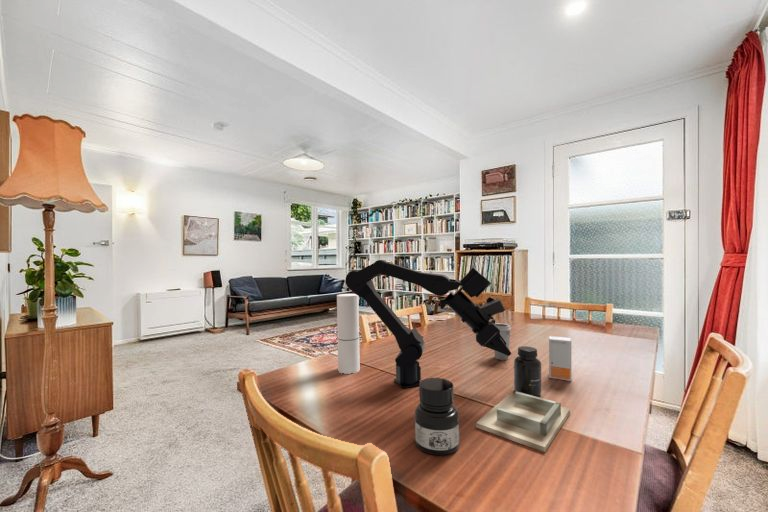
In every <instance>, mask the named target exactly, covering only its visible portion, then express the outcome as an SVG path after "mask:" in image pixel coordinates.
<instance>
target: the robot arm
mask: <svg viewBox="0 0 768 512" xmlns="http://www.w3.org/2000/svg"><path fill="white" fill-rule="evenodd" d="M380 275H385V276H388V277H392V278H394V279H397V280H401V281H403V282H404V281H405V282H407V283H411V284H413V285H414V284H415V285H417V286H419V287H420V288H422V289H424V290H425V291H427V292H429V293H431V294H433V295H435V296H438V297H444V296H445V297H444V298H440V299H439V302H440V309H441V310H443V309H444V308H445V307H446V306H447V307H448V308H450V309H451V310H452V311H453V313H455V314H456V316H458V317H459V318H460V320H461V323H464V324H465V325H467V326H468V327H469V328H470V329H471V331H472V333H473V334H475V342H477V344H478V345H480V346H481V347H484V348H488V349H490V350H493V351H494V350H495V351H498V352H500V353H502V354H505V355H507V356H508V357H509V356H511V355H512V352H511V350H510V348H509V349H508V348H507V346H506V344H507V343H506V342H505V340H504V339H503V338H502V336H501V335H500V330H499V328H498V327H497V326H496V325H495V323H496V320H495V318H494V317H493V316H494V315H498V314H500V313H503V312H506V308H505V307H504V305H503V303H502V301H501V299H500V298H493V297H492V296H488V297H487V298H486V299H485V300H486V301H485V303H483V304H482V305H479V304H478V303H475V302H474V301H472V300H471V299H470V298H469V297H471V298H475V297H476V298H479V297H480V295H482V294H483V293H484V292H485V291H486V290H487V289H488V288H489V287H490V286H491V285H492V282H491V281H489V280H488V279H487V278H486V277H485V276H484V275H483V274H481V273H480V272H479V271H478V270H477V269H476V268H475V267H471V268H470V270H469V271H468V272H467V274H465V275H464V276H463V277H462V278H461V279H453V278H449V276H447V275H445V274H442V273H441V274H440V273H432V272H422V271H419V270H415V269H411V268H410V267H409V268H408V267H405V266H403V265H399V264H395V263H392V262H389V261H386V260H385V259H378V260H376V261H374V262H373V263H371V264H370V265H367V266H365V267H363V268H360V269H357V270H356V269H355V270H352V271H350V272H348V273H347V274H346V277H345V280H344V282H345V285H346V287H347V288H348V289H349V290H350V291H351V292H353V294H356V295H358V296H359V297H360V298H361V299H363V300H364V301H365V302H366V303H367V305H368V306H369V307H370V308H371V309H372V311H373V312H374V313H375V315H376V316H378V318H379V319H380V320H381V322H382V323H383V324H384V326H385V327H386V328H387V329H388V330H389V331H390V332H391V334H392V336H393V337H394V338H395V340H396V342H397V343H396V344H397V346H398V347H399V350H400V351H399V352H398V354H397V355H396V357H395V376H396V377H395V378H394V379H393V381H394V382H395V383H396V384H397V385H398V386H399V387H400V388H401V389H407V388H412V387H417V386H419V382H421V380H422V377H421V376H422V371H421V370H422V368H421V366H420V362H419V361H418V360H420V359H421V357H422V356H423V352H424V350H425V347H426V345H425V344H426V343H425V341H424V336H423V335H421V334H420V332H419V331H418V329H417V328H416V327H413V328H412V329H410V328H409V327H407V326H406V325H405V324H404V323H403V322H402V320H401V319H400V318H399V317H398V316H397V314H396V313H395V312H394V311H393V309H391V307H390V306H389V304H387V302H386V301H385V300H384V298H383V297H381V295H380V294H379V293H378V291H377V289H376V287H375V285H374V282H373V279H375V278H377V277H378V276H380ZM459 287H460V288H459ZM450 291H451V292H450ZM452 291H455V292H454V293H453V292H452ZM463 291H464V292H465V293H466V294H465V293H464V292H463ZM449 292H450V293H449ZM467 295H468V296H467Z"/></svg>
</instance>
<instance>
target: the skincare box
mask: <svg viewBox="0 0 768 512" xmlns="http://www.w3.org/2000/svg"><path fill="white" fill-rule="evenodd" d="M548 375H549V376H548V378H549V379H555V380H562V381H567V382H572V338H571V337H564V336H551V335H549V336H548Z"/></svg>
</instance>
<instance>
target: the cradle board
mask: <svg viewBox="0 0 768 512" xmlns="http://www.w3.org/2000/svg"><path fill="white" fill-rule="evenodd" d="M561 405H562V404H561V402H559V401H555V400H550V399H547V398H543V397H539V396H537V397H536V396H532V395H528V394H524V393H520V392H517V391H516V392H514V393H512V392H510V393H509V394H507V395H506V396H505V397H503V399H502V400H501V401H499V402H498V403H497V404H496V405H495V406H493V408H491V409H490V410H489V411H488V412H487V413H486V414H484V415H483V416H482V417H481V418H480V419H479V420H478V421H476V422H475V428H477V429H479V430H483V431H485V432H488V433H490V434H493V435H496V436H498V437H502V438H504V439H507V440H510V441H513V442H514V443H518V444H521V445H524V446H526V447H529V448H532V449H534V450H537V451H539V452H542V453H546V451H547V450H548V448H549V447H550V446H551V444H552V442H553V440H554V439H555V438H556V436H557V434H558V433H559V431H560V429H561V428H562V427H563V425H564V424H565V422H566V420H567V418H568V417H569V416H570V414H571V408H568V407H565V406H561Z"/></svg>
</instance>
